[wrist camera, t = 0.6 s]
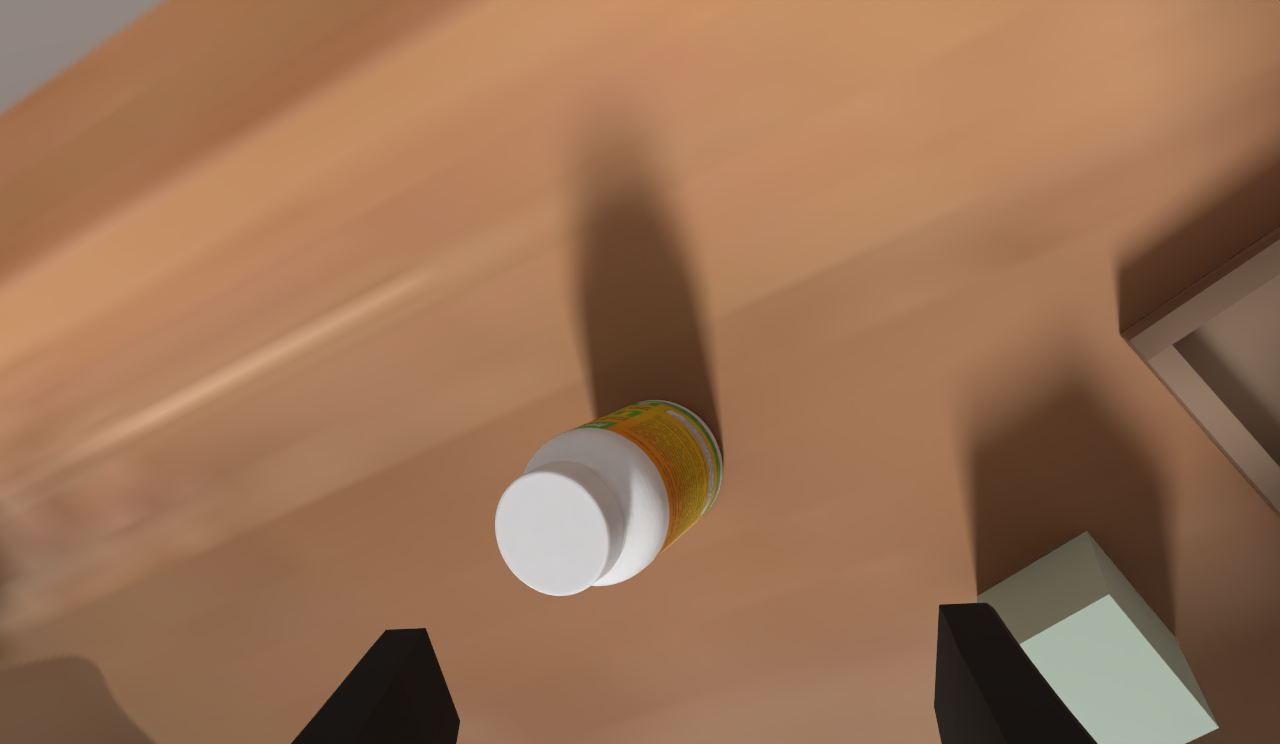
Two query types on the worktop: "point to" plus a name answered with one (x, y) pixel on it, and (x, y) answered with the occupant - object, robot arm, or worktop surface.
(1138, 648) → the sage block
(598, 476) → the supplement bottle
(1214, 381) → the tray
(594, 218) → the worktop surface
